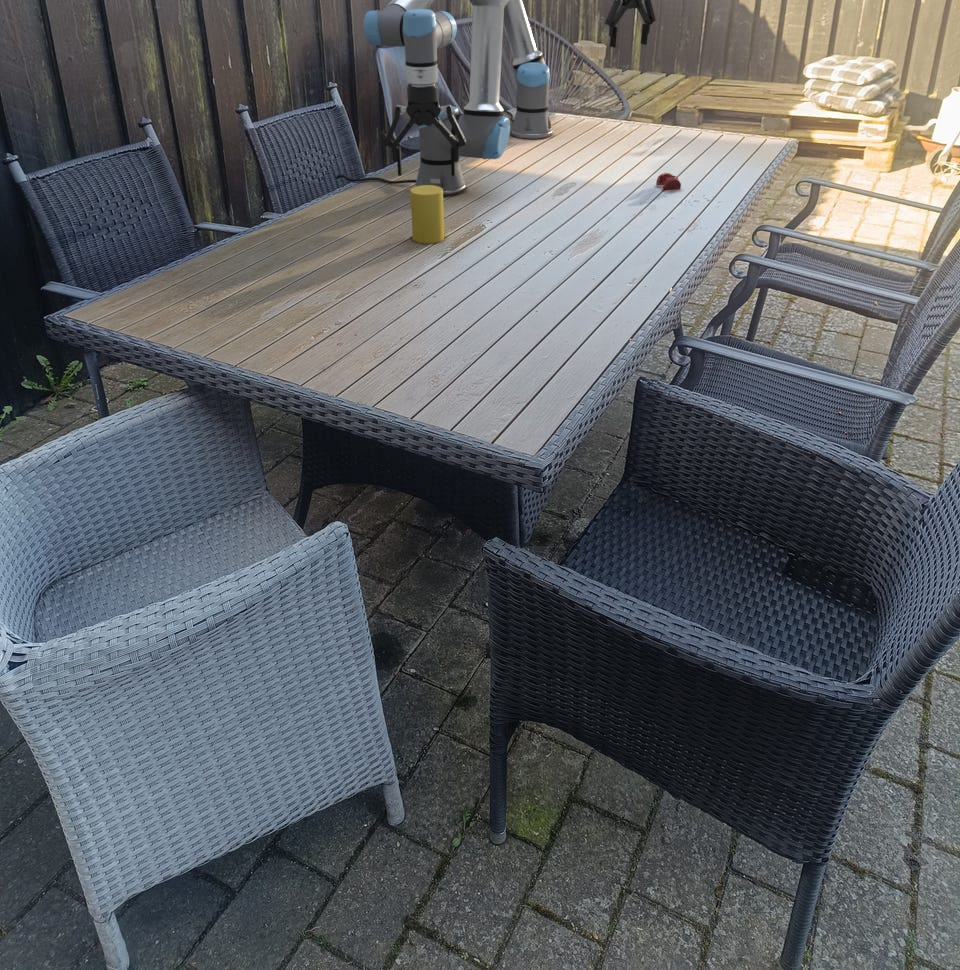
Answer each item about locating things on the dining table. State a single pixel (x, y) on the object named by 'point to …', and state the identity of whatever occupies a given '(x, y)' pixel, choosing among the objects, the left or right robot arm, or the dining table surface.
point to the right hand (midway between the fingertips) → (628, 45)
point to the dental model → (668, 182)
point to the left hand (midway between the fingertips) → (426, 174)
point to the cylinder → (427, 214)
